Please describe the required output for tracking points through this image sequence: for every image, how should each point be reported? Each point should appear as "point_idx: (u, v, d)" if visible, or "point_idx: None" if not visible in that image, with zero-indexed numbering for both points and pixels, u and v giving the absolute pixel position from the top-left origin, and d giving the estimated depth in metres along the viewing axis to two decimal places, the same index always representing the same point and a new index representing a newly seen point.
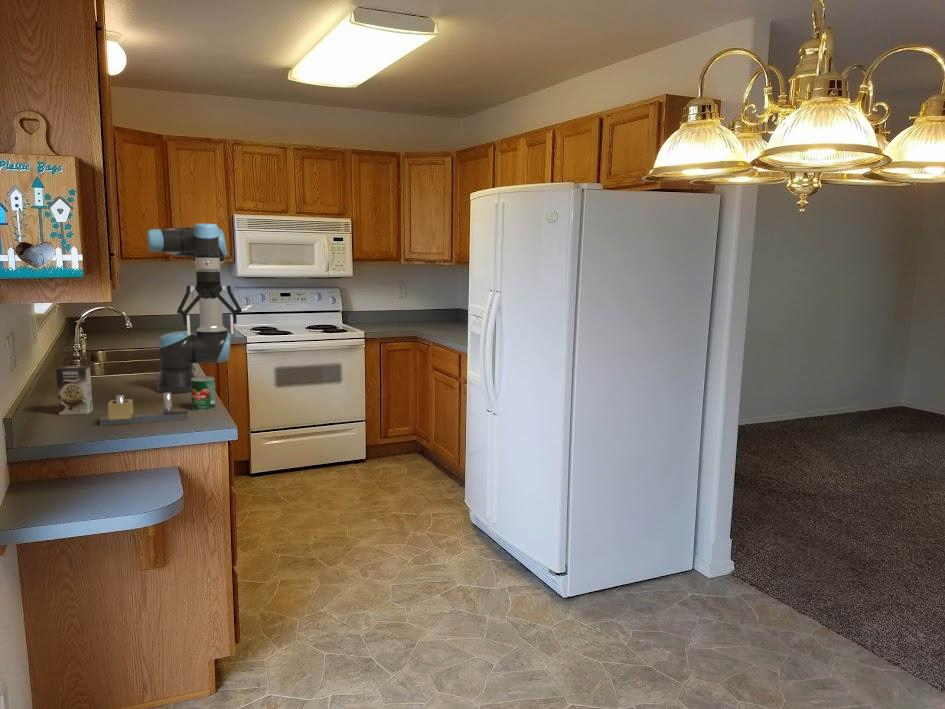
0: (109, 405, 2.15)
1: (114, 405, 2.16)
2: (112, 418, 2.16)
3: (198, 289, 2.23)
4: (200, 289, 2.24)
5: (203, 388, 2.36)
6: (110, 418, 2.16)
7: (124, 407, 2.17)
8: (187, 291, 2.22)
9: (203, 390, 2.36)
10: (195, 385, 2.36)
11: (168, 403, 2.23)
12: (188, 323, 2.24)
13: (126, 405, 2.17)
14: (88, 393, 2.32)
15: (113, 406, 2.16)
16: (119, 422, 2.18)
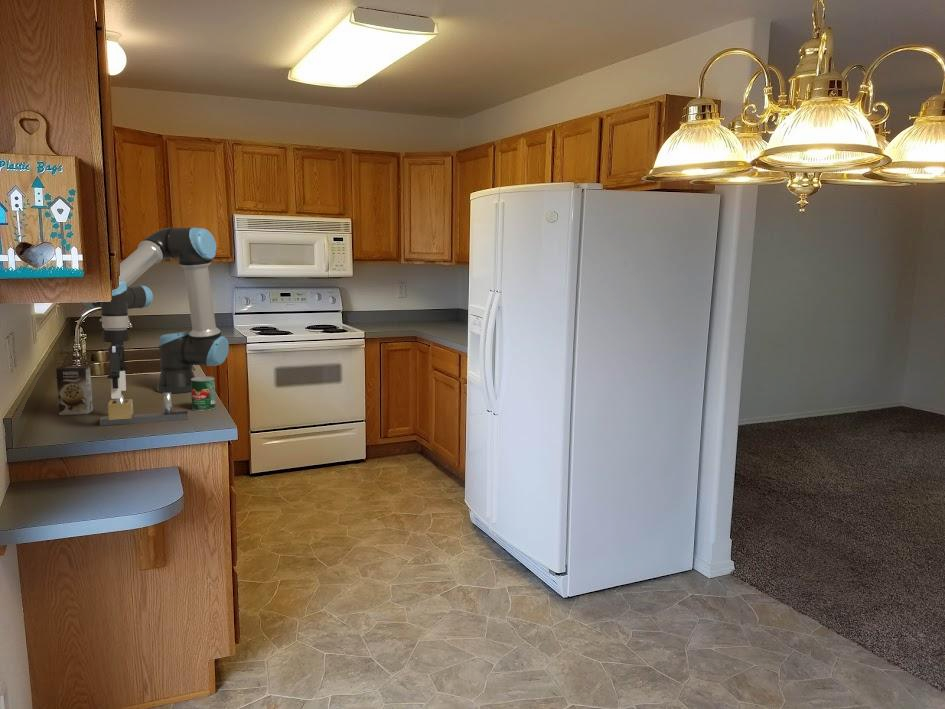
0: (109, 405, 2.15)
1: (114, 405, 2.16)
2: (112, 418, 2.16)
3: None
4: None
5: (203, 388, 2.36)
6: (110, 418, 2.16)
7: (124, 407, 2.17)
8: None
9: (203, 390, 2.36)
10: (195, 385, 2.36)
11: (168, 403, 2.23)
12: None
13: (126, 405, 2.17)
14: (88, 393, 2.32)
15: (113, 406, 2.16)
16: (119, 422, 2.18)
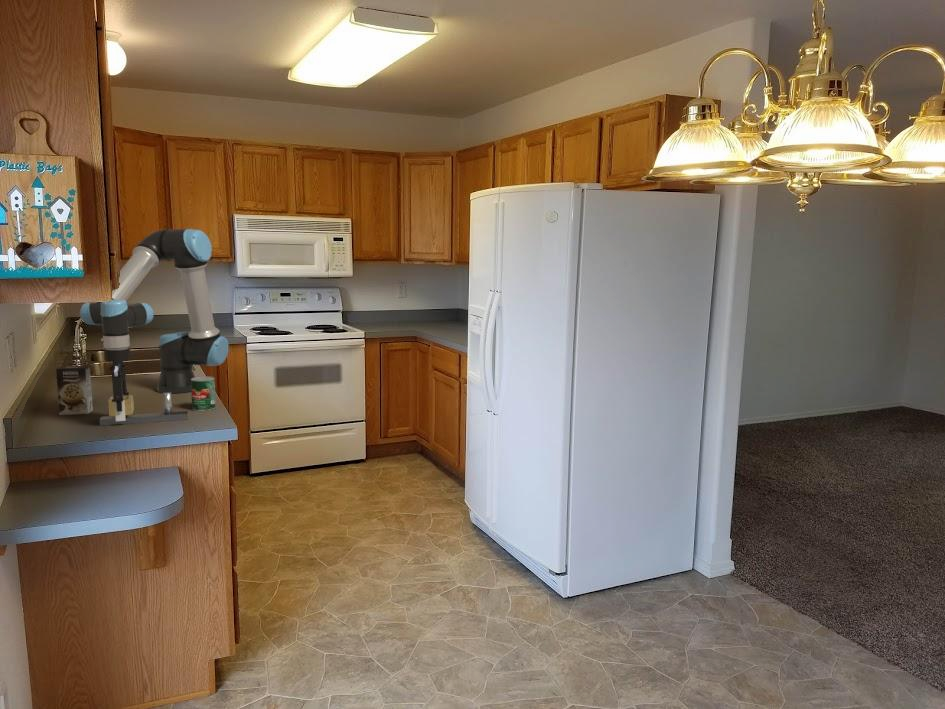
0: (110, 401, 2.15)
1: None
2: (113, 414, 2.16)
3: None
4: None
5: (203, 388, 2.36)
6: (111, 414, 2.16)
7: (124, 403, 2.17)
8: None
9: (203, 390, 2.36)
10: (195, 385, 2.36)
11: (168, 403, 2.23)
12: None
13: (127, 401, 2.17)
14: (88, 393, 2.32)
15: None
16: (119, 422, 2.18)
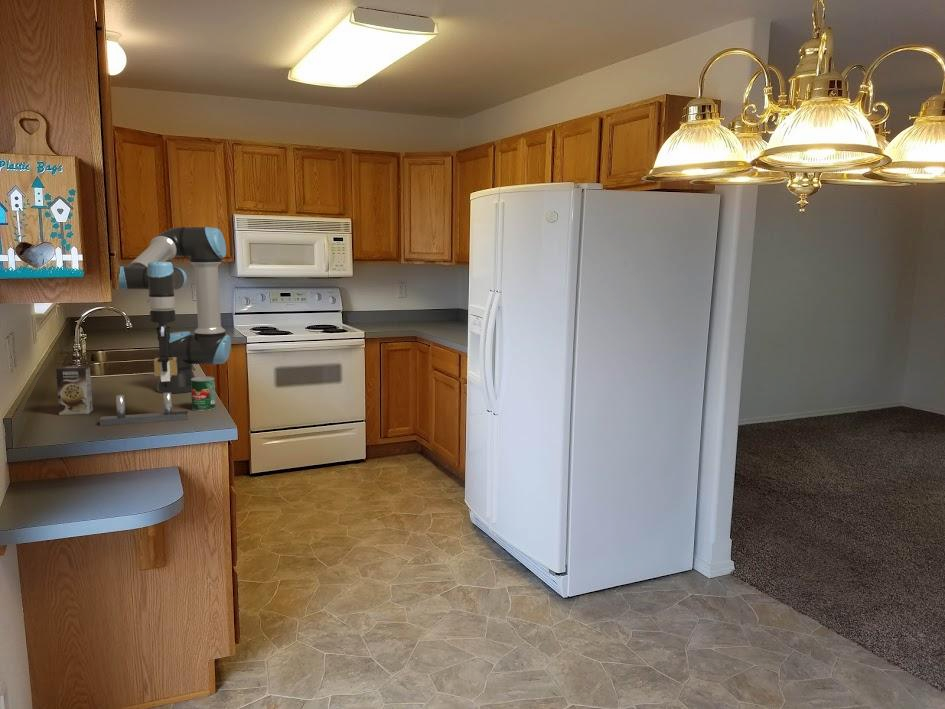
0: (155, 361, 2.18)
1: None
2: (158, 374, 2.19)
3: None
4: None
5: (203, 388, 2.36)
6: (156, 374, 2.19)
7: (169, 363, 2.20)
8: None
9: (203, 390, 2.36)
10: (195, 385, 2.36)
11: (168, 403, 2.23)
12: None
13: (171, 362, 2.20)
14: (88, 393, 2.32)
15: (159, 363, 2.19)
16: (119, 422, 2.18)
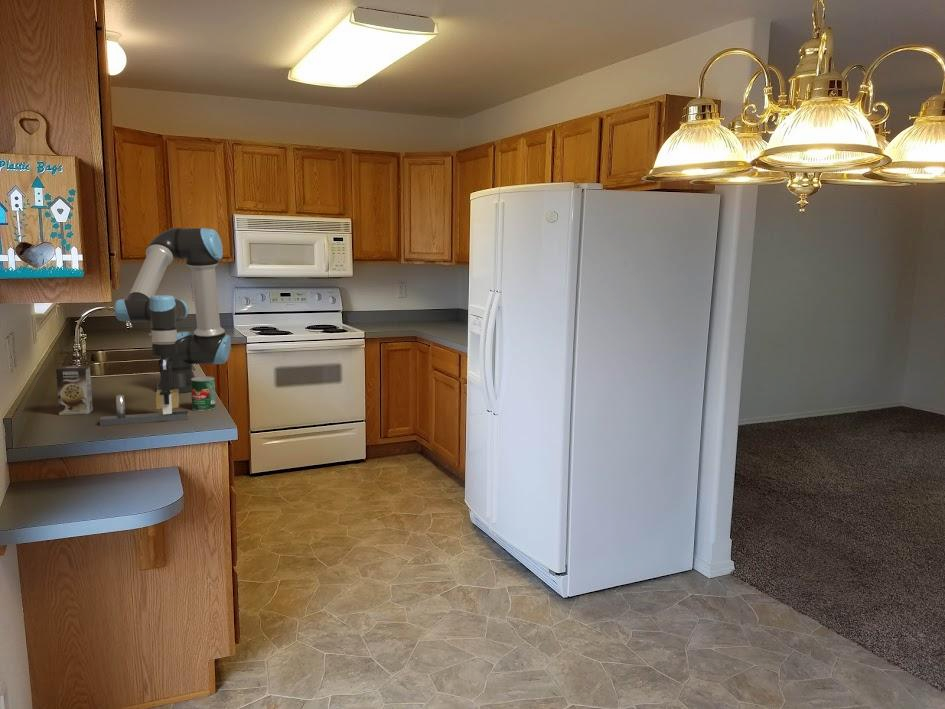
0: (157, 394, 2.20)
1: None
2: (160, 407, 2.21)
3: None
4: None
5: (203, 388, 2.36)
6: (158, 407, 2.20)
7: (171, 396, 2.21)
8: None
9: (203, 390, 2.36)
10: (195, 385, 2.36)
11: None
12: None
13: (173, 394, 2.21)
14: (88, 393, 2.32)
15: (161, 395, 2.20)
16: (119, 422, 2.18)
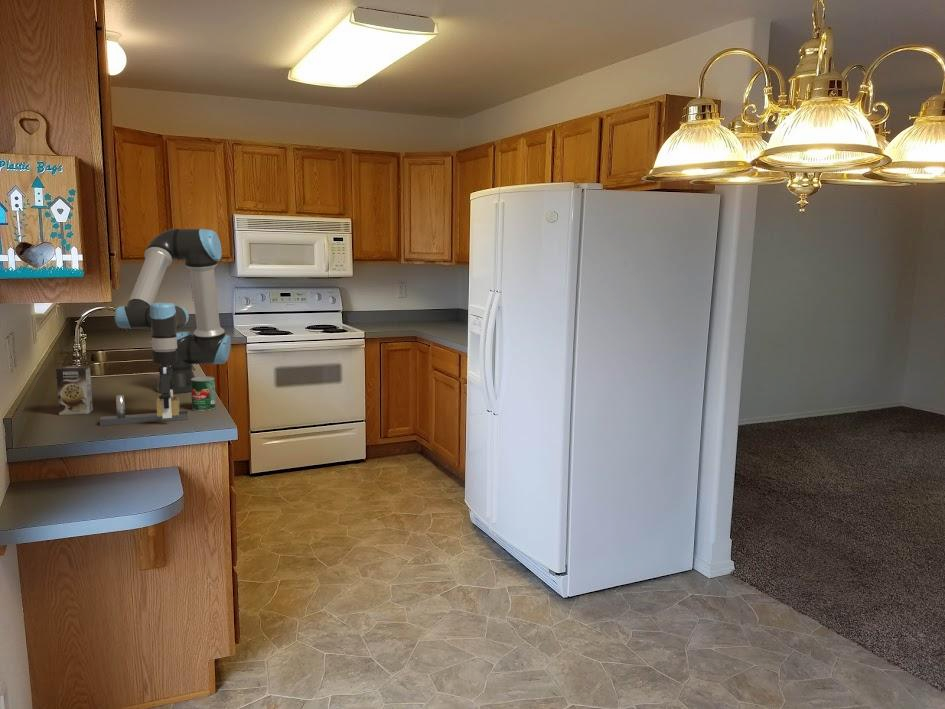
0: (158, 402, 2.20)
1: None
2: (160, 415, 2.21)
3: None
4: None
5: (203, 388, 2.36)
6: (158, 415, 2.21)
7: (172, 404, 2.22)
8: None
9: (203, 390, 2.36)
10: (195, 385, 2.36)
11: None
12: None
13: (174, 402, 2.22)
14: (88, 393, 2.32)
15: (161, 403, 2.21)
16: (119, 422, 2.18)
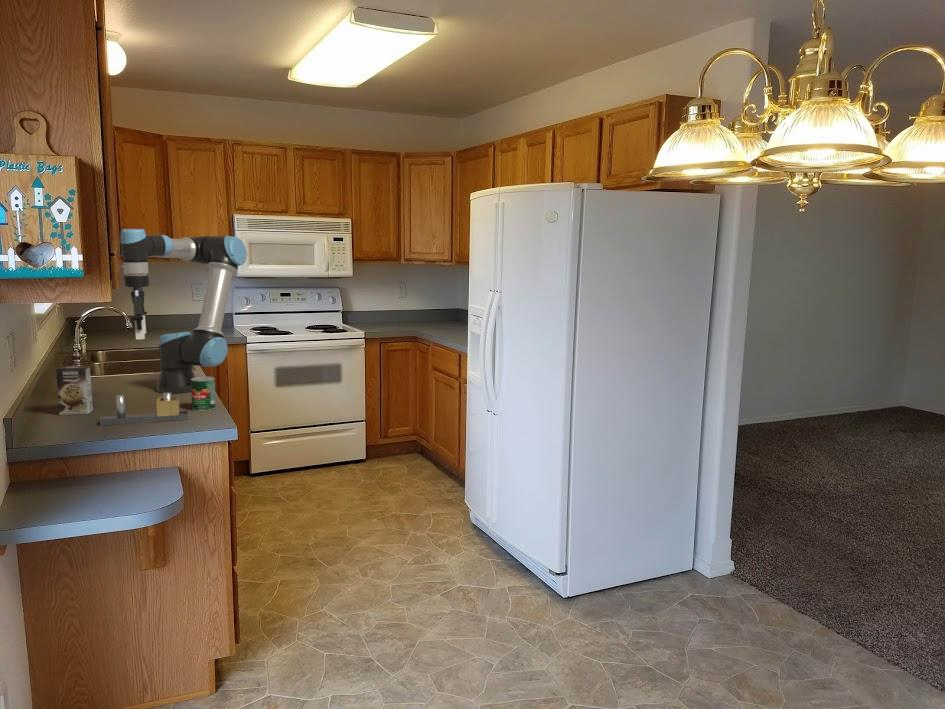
0: (158, 402, 2.20)
1: (162, 402, 2.21)
2: (160, 415, 2.21)
3: None
4: None
5: (203, 388, 2.36)
6: (158, 415, 2.21)
7: (172, 404, 2.22)
8: None
9: (203, 390, 2.36)
10: (195, 385, 2.36)
11: None
12: None
13: (174, 402, 2.22)
14: (88, 393, 2.32)
15: (161, 403, 2.21)
16: (119, 422, 2.18)
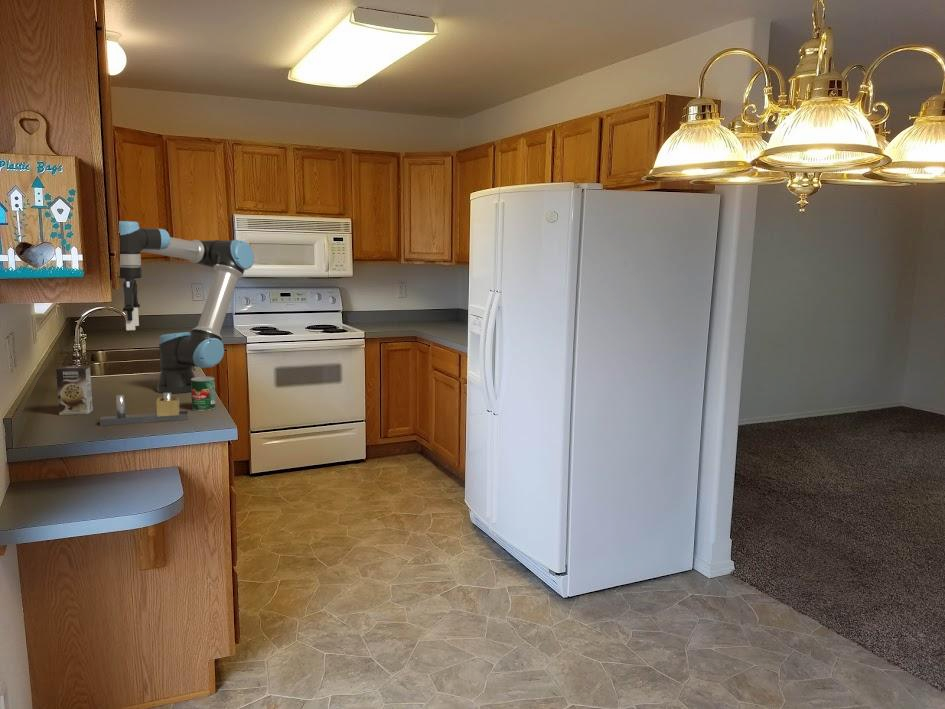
0: (158, 402, 2.20)
1: (162, 402, 2.21)
2: (160, 415, 2.21)
3: None
4: None
5: (203, 388, 2.36)
6: (158, 415, 2.21)
7: (172, 404, 2.22)
8: None
9: (203, 390, 2.36)
10: (195, 385, 2.36)
11: None
12: None
13: (174, 402, 2.22)
14: (88, 393, 2.32)
15: (161, 403, 2.21)
16: (119, 422, 2.18)
